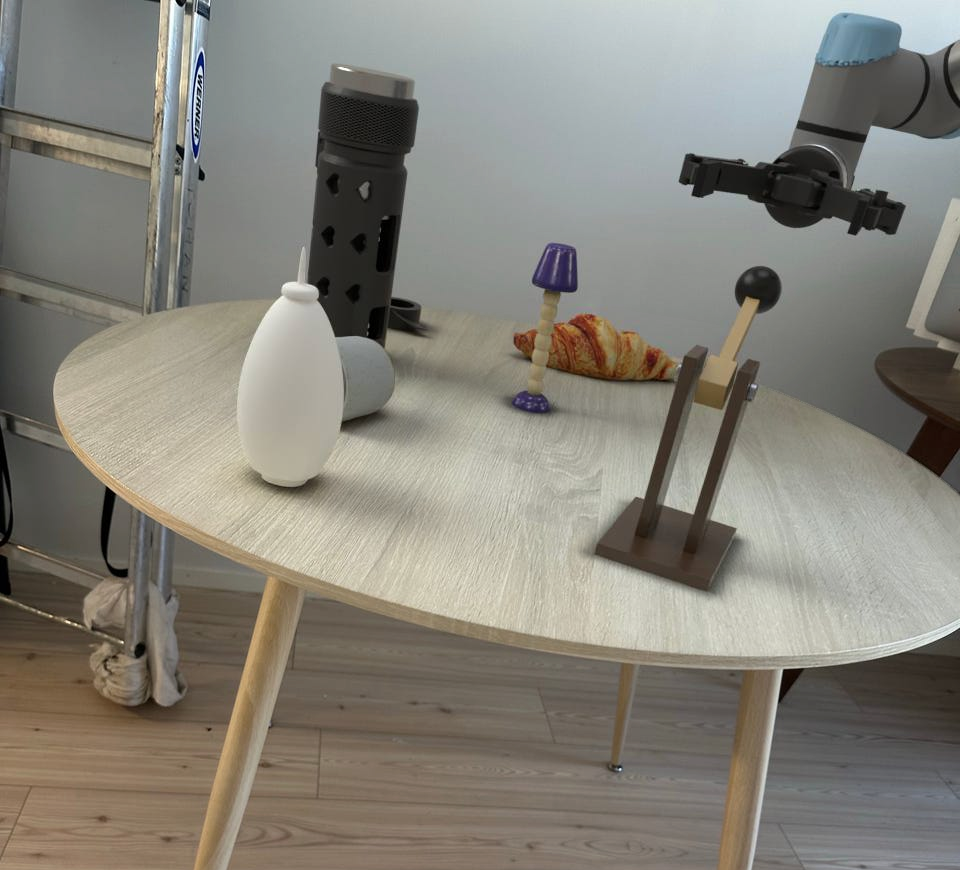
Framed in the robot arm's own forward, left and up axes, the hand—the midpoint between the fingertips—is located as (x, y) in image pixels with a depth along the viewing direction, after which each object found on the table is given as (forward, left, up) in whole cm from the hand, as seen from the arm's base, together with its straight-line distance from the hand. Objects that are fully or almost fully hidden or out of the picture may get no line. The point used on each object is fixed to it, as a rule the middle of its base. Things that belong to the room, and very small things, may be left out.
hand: (776, 198), depth 86 cm
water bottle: (+41, -4, -26) cm, 49 cm away
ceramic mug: (+33, +13, -26) cm, 44 cm away
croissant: (+18, -27, -26) cm, 41 cm away
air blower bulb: (+27, +30, -26) cm, 48 cm away
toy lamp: (+19, -6, -26) cm, 33 cm away
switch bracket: (-2, +19, -25) cm, 32 cm away
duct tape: (+43, -22, -26) cm, 55 cm away
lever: (-2, +13, -10) cm, 17 cm away
